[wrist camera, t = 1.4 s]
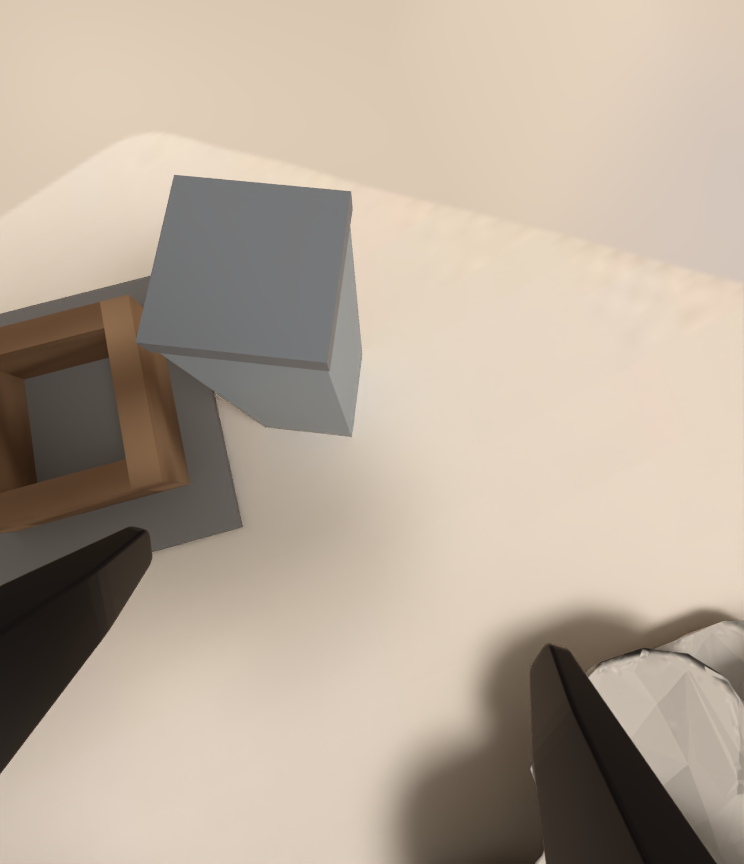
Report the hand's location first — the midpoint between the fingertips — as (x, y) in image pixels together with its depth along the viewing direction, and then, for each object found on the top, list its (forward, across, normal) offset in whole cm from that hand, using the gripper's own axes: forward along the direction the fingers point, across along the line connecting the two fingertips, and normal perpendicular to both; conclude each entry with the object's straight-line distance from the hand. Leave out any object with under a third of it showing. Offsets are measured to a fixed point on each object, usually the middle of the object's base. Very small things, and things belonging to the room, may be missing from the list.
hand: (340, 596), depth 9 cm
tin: (+15, +5, +3) cm, 16 cm away
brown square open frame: (+12, +17, +6) cm, 21 cm away
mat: (+12, +17, +6) cm, 21 cm away
